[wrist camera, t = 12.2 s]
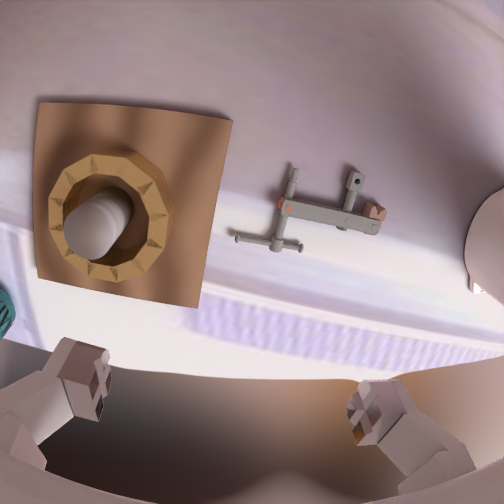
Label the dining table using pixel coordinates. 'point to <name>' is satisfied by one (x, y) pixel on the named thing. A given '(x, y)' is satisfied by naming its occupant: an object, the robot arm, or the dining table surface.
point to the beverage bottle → (6, 313)
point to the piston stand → (129, 194)
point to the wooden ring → (153, 196)
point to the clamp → (323, 214)
